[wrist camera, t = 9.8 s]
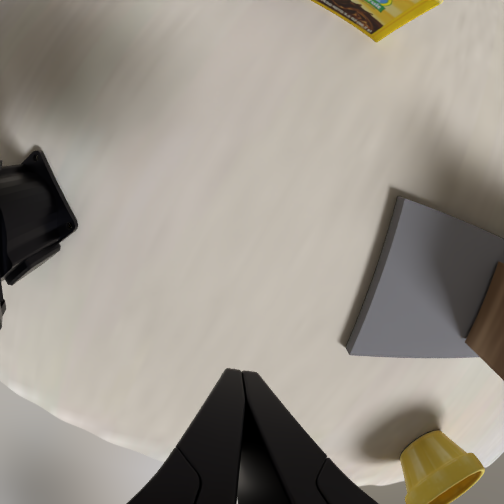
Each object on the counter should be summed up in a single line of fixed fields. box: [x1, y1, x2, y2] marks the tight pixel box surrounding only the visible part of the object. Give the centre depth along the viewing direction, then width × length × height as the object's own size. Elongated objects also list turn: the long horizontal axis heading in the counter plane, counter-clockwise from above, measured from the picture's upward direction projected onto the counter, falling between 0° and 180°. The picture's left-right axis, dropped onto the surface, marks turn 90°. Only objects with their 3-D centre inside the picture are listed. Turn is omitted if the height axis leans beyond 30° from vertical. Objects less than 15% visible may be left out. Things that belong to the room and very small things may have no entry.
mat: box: [346, 196, 504, 358], centre depth 21 cm, size 25×12×1 cm, turn 77°
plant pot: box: [400, 431, 485, 504], centre depth 24 cm, size 10×10×10 cm
